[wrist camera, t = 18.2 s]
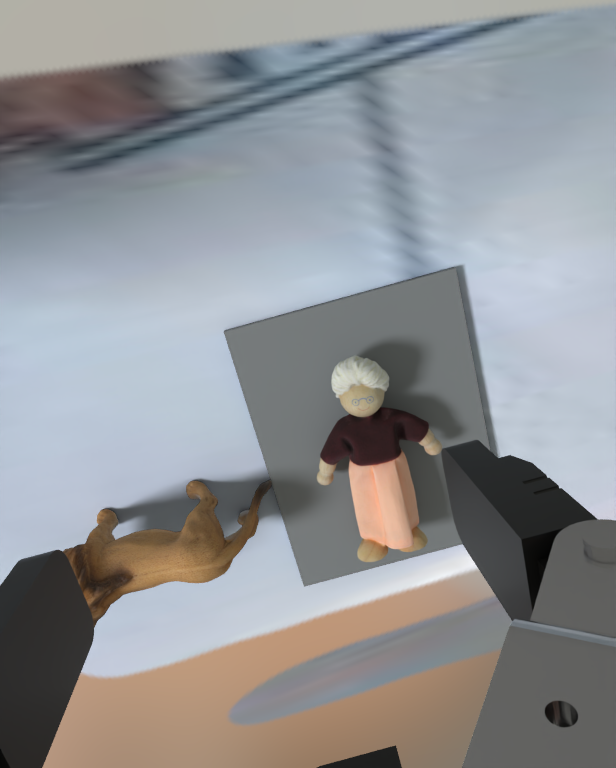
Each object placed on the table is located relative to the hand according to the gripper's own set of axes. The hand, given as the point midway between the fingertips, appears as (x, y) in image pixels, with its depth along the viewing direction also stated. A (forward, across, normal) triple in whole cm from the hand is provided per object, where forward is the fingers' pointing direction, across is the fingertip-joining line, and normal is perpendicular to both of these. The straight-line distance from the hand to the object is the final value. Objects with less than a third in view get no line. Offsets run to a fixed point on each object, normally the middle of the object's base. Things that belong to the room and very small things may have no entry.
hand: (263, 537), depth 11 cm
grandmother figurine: (+20, -5, +15) cm, 26 cm away
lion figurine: (+23, +10, +11) cm, 27 cm away
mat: (+22, -5, +8) cm, 24 cm away
